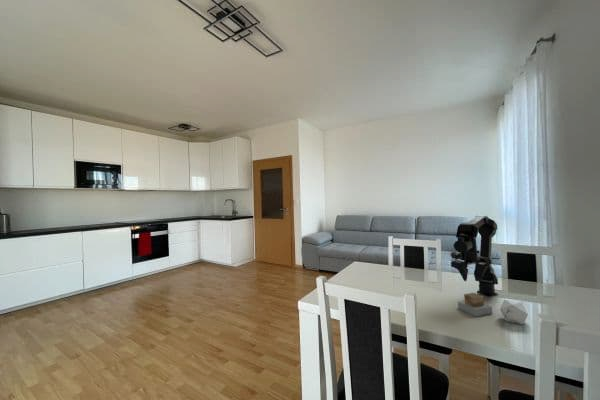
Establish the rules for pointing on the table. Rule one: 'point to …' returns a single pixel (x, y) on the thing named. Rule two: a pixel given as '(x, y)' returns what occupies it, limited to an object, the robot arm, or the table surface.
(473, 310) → the base
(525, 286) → the table surface
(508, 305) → the die
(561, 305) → the table surface
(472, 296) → the block
